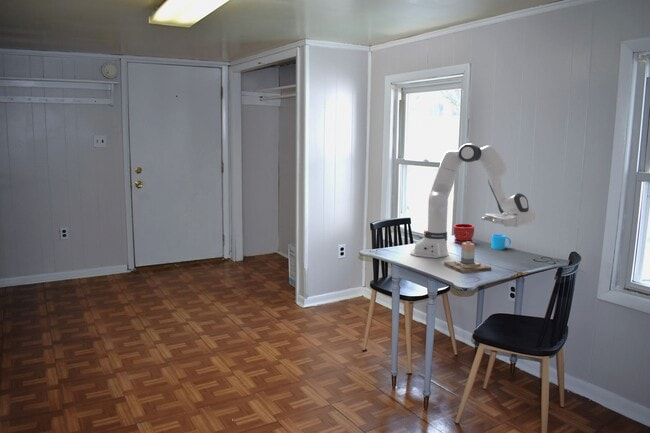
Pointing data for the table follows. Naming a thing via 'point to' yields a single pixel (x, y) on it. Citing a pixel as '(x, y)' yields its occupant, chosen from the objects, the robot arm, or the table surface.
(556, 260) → the table surface
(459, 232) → the plant pot
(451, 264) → the socket board
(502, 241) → the mug
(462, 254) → the brick tower
